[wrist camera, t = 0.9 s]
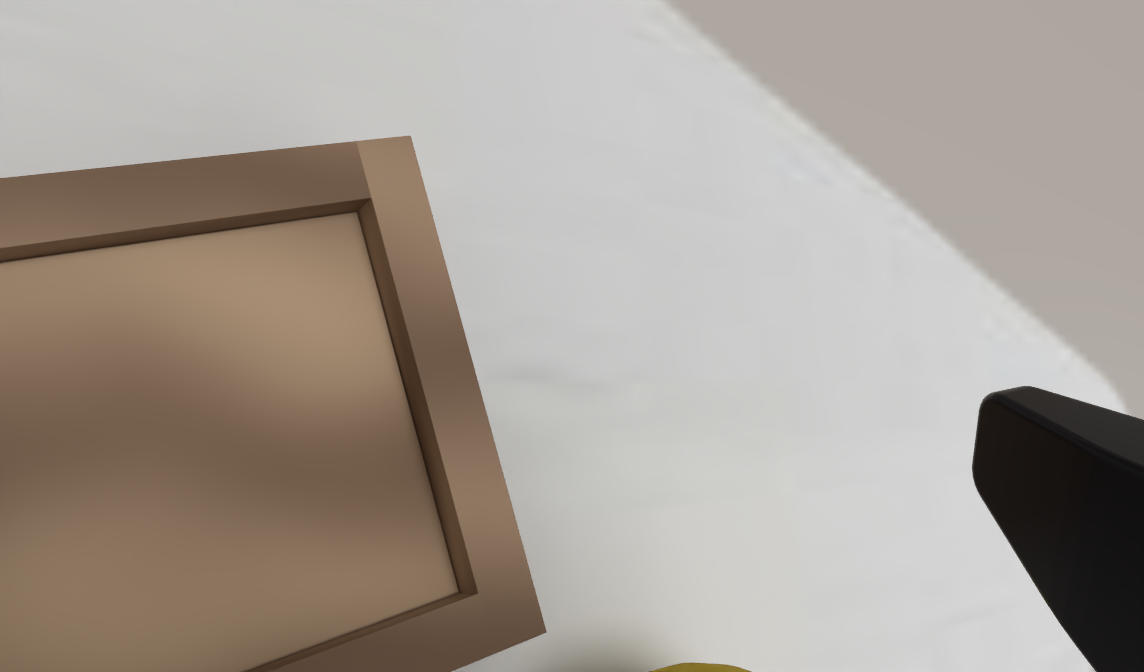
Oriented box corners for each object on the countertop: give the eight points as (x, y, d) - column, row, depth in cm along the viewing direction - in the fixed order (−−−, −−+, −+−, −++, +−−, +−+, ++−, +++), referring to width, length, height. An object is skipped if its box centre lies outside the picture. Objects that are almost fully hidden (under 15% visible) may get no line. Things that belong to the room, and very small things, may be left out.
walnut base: (478, 625, 24) (546, 632, 22) (-50, 831, 19) (-57, 880, 16) (360, 187, 25) (410, 135, 22) (-182, 257, 20) (-213, 200, 17)
